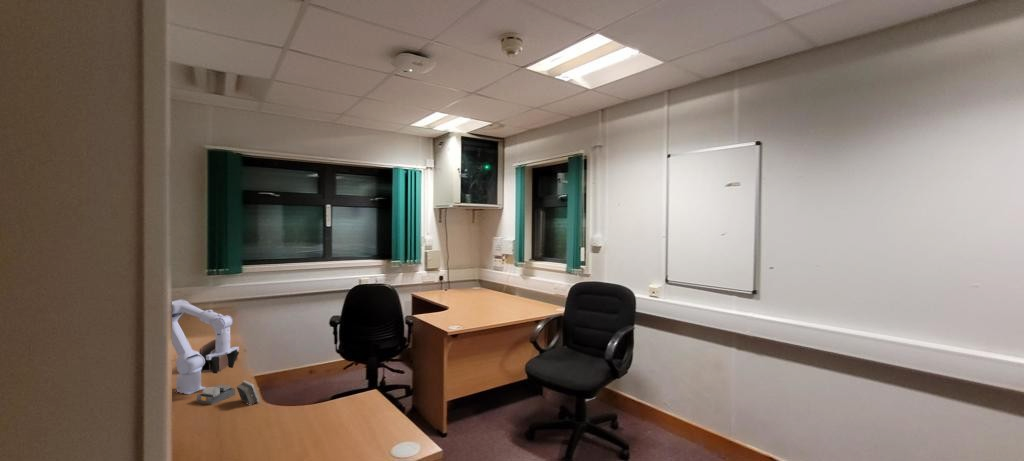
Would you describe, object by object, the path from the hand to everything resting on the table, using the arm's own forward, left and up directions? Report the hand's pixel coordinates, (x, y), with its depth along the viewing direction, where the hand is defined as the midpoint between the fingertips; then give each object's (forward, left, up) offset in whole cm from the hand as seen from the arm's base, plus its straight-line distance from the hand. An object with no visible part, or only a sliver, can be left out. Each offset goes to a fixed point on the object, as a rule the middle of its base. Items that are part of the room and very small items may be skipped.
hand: (223, 370), depth 188 cm
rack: (+5, -7, -10) cm, 13 cm away
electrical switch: (+23, -6, -10) cm, 26 cm away
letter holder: (-36, +25, -10) cm, 45 cm away
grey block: (+6, -10, -9) cm, 14 cm away
